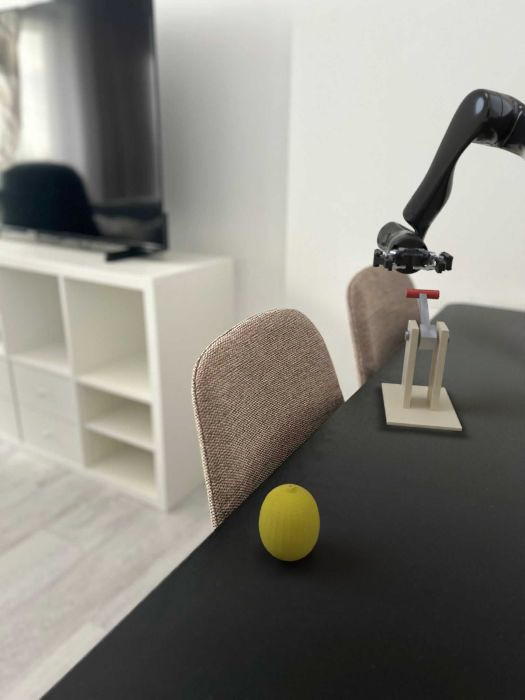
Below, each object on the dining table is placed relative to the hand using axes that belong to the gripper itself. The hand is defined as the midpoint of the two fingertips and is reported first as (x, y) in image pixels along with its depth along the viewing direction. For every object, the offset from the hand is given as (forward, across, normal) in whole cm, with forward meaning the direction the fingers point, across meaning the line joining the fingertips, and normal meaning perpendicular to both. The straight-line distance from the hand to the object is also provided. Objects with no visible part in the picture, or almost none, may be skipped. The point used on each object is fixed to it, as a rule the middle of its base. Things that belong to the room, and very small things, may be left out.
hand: (415, 266), depth 90 cm
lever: (+15, 0, +6) cm, 16 cm away
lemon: (+54, -16, +18) cm, 60 cm away
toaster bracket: (+20, 0, +18) cm, 27 cm away
